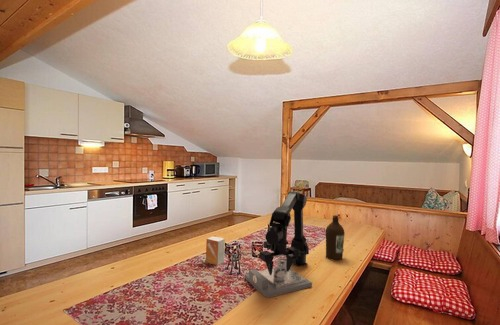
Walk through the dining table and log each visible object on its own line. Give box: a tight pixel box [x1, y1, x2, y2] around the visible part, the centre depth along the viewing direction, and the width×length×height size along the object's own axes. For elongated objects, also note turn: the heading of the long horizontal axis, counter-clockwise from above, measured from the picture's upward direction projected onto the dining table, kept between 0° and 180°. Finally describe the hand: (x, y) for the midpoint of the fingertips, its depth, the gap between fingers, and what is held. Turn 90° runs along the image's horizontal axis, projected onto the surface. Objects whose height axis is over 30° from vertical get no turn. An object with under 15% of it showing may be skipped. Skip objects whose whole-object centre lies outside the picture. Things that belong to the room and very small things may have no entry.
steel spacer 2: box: [273, 266, 285, 283], centre depth 121 cm, size 5×5×5 cm
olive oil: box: [325, 214, 346, 261], centre depth 160 cm, size 11×11×25 cm
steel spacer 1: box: [276, 257, 287, 272], centre depth 133 cm, size 5×5×5 cm
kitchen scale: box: [244, 267, 313, 299], centre depth 125 cm, size 24×20×6 cm
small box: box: [205, 235, 226, 266], centre depth 147 cm, size 8×6×13 cm
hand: (279, 273), depth 121 cm, fingers open, 9 cm apart
